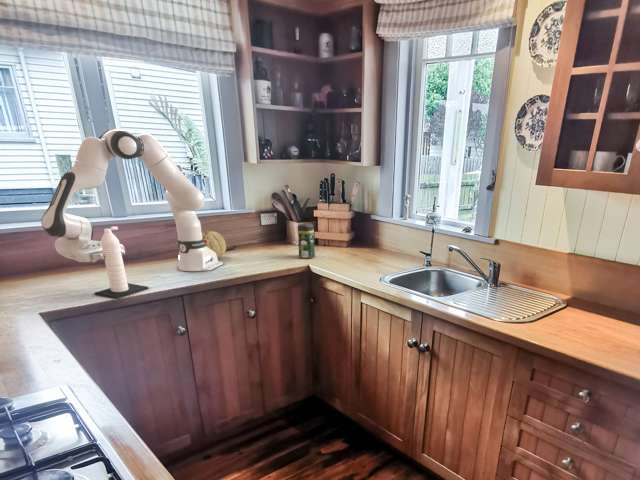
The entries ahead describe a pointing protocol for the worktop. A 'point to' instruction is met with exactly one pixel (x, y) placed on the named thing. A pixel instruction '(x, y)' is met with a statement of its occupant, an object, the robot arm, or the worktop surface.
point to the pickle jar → (306, 240)
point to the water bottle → (114, 261)
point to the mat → (131, 290)
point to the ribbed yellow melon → (215, 242)
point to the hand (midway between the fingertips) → (114, 254)
